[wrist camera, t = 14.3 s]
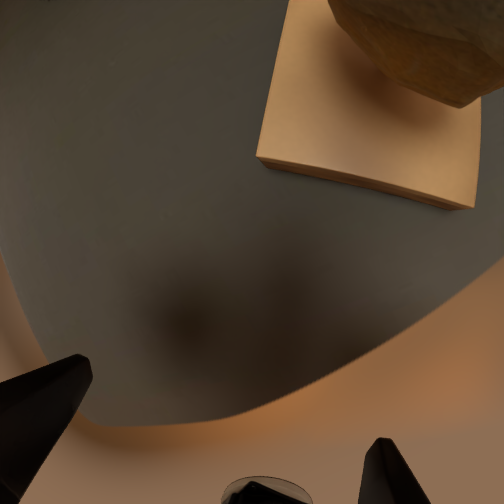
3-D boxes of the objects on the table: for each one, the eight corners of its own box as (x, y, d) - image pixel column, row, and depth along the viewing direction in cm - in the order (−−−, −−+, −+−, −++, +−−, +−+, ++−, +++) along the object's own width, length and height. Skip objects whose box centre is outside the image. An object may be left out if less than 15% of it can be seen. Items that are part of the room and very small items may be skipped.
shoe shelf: (458, 42, 15) (473, 18, 12) (450, 210, 17) (474, 208, 14) (299, 5, 18) (294, -24, 14) (266, 167, 19) (255, 156, 16)
